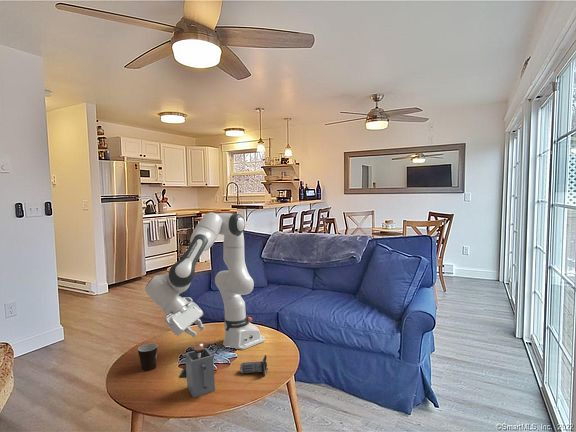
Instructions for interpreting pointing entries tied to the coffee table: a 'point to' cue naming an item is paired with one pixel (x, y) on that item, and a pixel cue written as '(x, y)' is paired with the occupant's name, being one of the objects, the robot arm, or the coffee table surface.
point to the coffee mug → (148, 356)
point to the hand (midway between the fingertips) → (199, 332)
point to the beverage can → (254, 367)
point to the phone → (183, 373)
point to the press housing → (200, 373)
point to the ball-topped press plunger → (198, 348)
